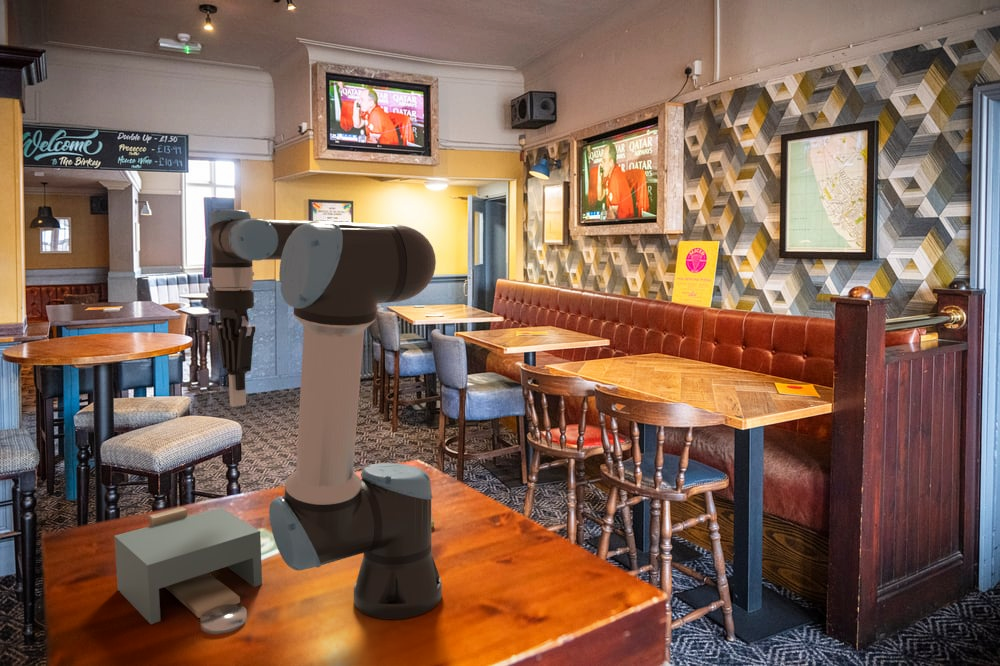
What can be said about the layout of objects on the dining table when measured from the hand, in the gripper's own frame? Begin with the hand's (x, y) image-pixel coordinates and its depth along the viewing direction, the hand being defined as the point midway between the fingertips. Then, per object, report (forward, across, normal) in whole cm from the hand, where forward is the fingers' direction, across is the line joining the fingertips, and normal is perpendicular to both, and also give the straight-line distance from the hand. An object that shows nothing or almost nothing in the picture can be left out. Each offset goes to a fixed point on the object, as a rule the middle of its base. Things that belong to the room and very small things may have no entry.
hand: (238, 405), depth 141 cm
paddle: (+28, -14, +16) cm, 35 cm away
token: (+29, -28, +17) cm, 44 cm away
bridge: (+28, -13, +16) cm, 35 cm away
